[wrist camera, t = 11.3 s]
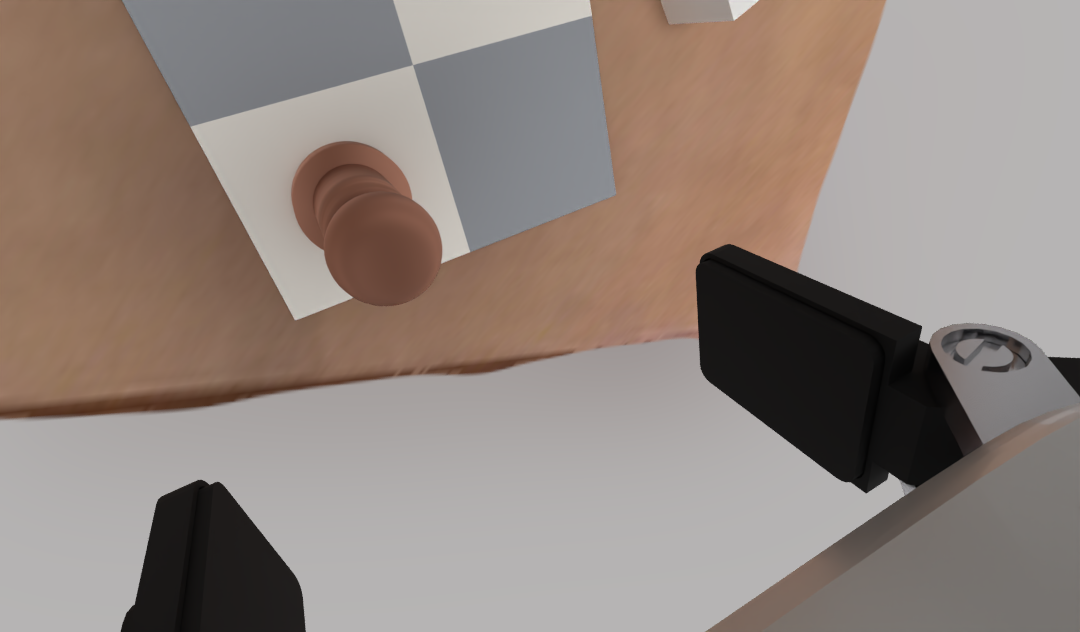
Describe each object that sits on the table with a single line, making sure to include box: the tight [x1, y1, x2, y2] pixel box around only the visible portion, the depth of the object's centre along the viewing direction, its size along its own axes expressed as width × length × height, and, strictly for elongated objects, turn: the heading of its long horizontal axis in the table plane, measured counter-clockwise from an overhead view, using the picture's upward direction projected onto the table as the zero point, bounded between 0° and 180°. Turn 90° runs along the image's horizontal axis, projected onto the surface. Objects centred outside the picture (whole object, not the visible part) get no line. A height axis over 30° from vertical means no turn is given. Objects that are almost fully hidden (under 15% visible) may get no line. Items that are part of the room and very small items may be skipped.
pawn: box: [291, 141, 442, 306], centre depth 21 cm, size 5×5×10 cm
